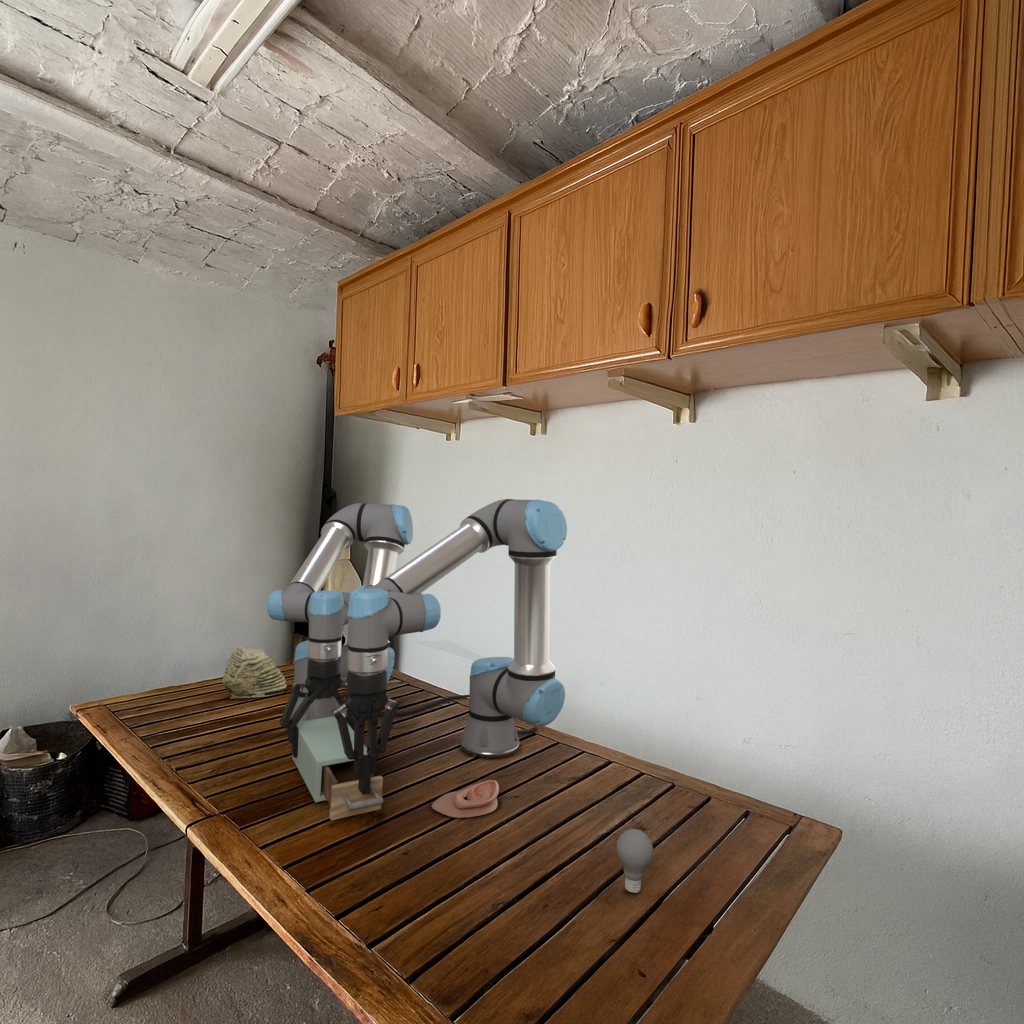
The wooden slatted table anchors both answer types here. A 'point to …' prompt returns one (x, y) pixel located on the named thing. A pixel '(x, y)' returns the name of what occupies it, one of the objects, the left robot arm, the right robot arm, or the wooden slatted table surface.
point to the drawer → (348, 791)
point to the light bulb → (634, 857)
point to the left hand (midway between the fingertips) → (321, 751)
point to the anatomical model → (469, 800)
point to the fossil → (252, 674)
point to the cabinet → (319, 751)
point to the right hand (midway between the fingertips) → (364, 791)
